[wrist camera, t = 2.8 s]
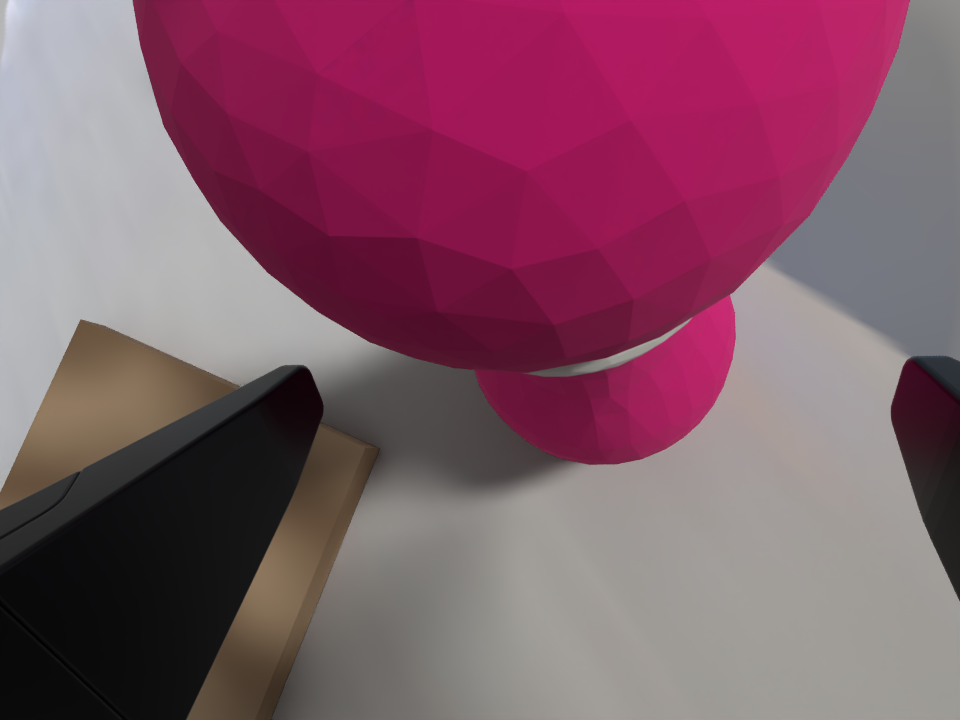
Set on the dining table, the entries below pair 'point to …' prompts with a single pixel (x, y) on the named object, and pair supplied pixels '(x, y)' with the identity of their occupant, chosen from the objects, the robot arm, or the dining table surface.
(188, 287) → the dining table surface
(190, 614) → the robot arm
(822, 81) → the pepper mill
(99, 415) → the walnut board
